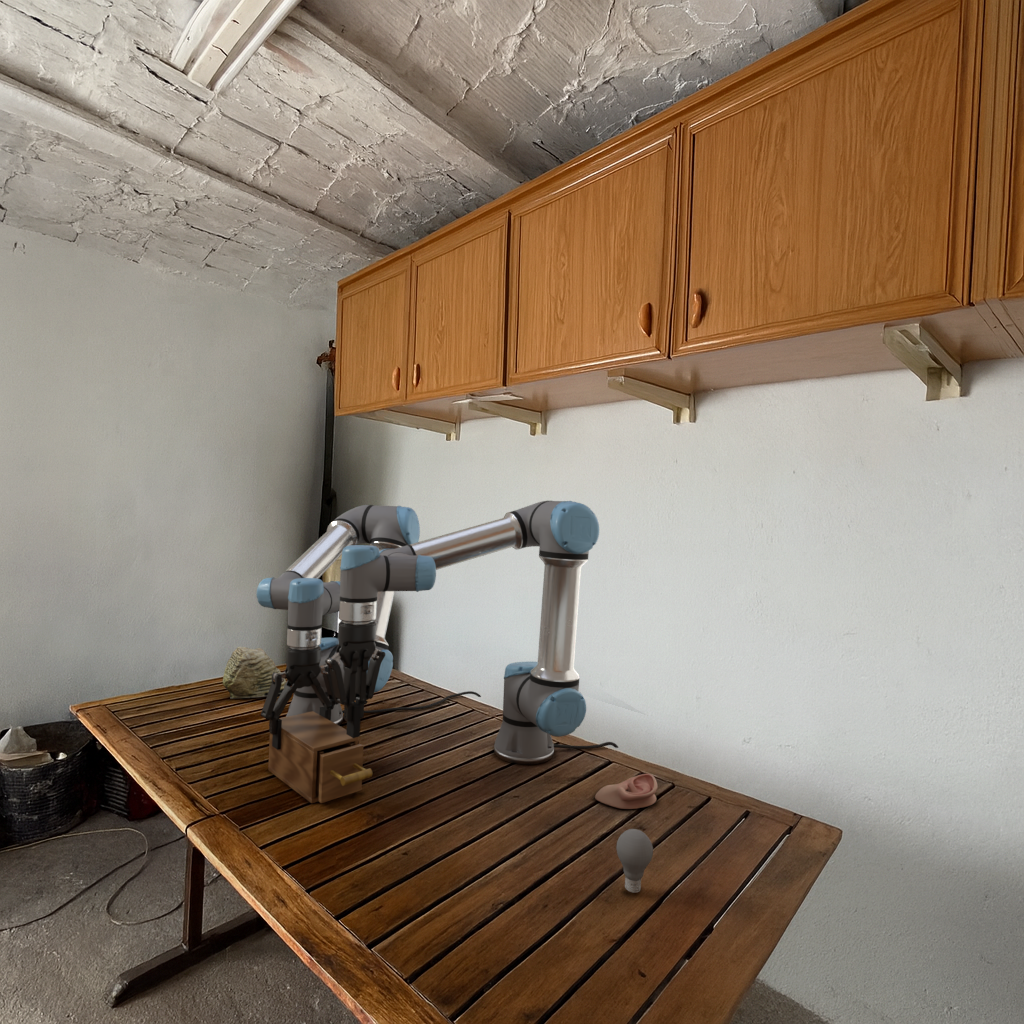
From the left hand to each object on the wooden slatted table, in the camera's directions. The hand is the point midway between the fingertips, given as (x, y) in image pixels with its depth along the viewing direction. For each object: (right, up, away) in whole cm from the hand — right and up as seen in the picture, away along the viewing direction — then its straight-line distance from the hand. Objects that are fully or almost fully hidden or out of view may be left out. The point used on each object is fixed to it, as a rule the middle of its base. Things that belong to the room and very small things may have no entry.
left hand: (300, 741), depth 146 cm
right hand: (+16, +7, -16) cm, 24 cm away
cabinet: (+4, -7, -4) cm, 9 cm away
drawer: (+9, -6, -9) cm, 14 cm away
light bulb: (+69, -11, -40) cm, 80 cm away
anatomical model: (+74, -10, -6) cm, 75 cm away
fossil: (-32, -4, +52) cm, 61 cm away
